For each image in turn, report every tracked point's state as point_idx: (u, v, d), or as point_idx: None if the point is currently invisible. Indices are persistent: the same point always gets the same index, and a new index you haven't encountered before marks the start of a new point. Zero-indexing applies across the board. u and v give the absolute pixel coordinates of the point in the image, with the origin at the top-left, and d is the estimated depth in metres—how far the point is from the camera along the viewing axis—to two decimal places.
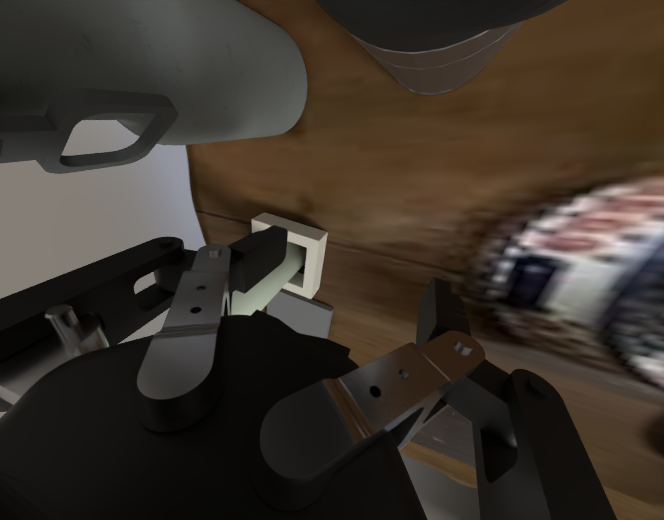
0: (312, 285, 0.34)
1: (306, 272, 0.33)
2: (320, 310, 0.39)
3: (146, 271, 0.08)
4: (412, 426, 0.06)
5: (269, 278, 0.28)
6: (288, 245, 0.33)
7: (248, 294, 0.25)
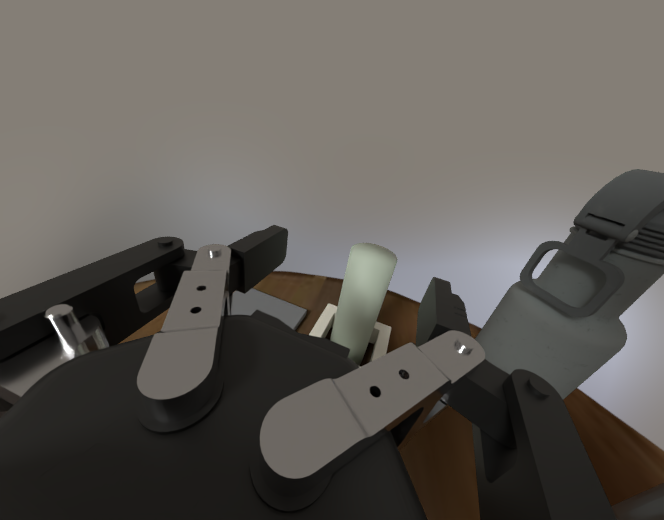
0: None
1: None
2: None
3: (146, 271, 0.08)
4: (412, 426, 0.06)
5: (369, 318, 0.27)
6: (365, 350, 0.31)
7: (381, 293, 0.25)
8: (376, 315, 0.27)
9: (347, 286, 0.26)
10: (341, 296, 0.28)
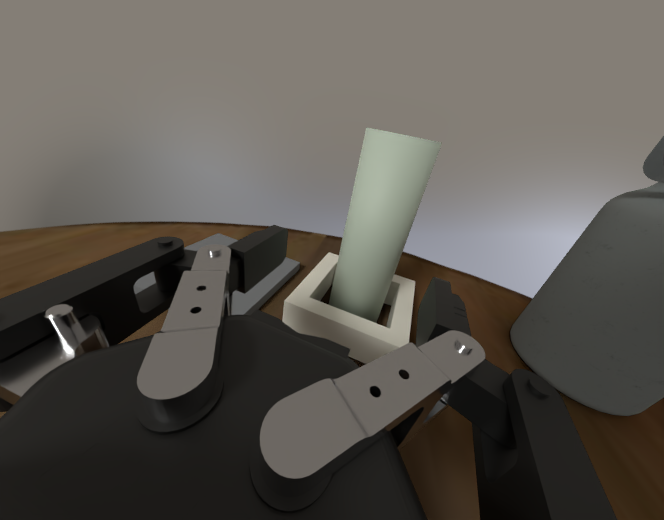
0: (315, 312, 0.19)
1: (341, 312, 0.19)
2: (237, 311, 0.20)
3: (146, 271, 0.08)
4: (412, 426, 0.06)
5: (393, 245, 0.17)
6: (381, 307, 0.22)
7: (414, 198, 0.16)
8: (402, 243, 0.18)
9: (360, 189, 0.16)
10: (349, 214, 0.18)
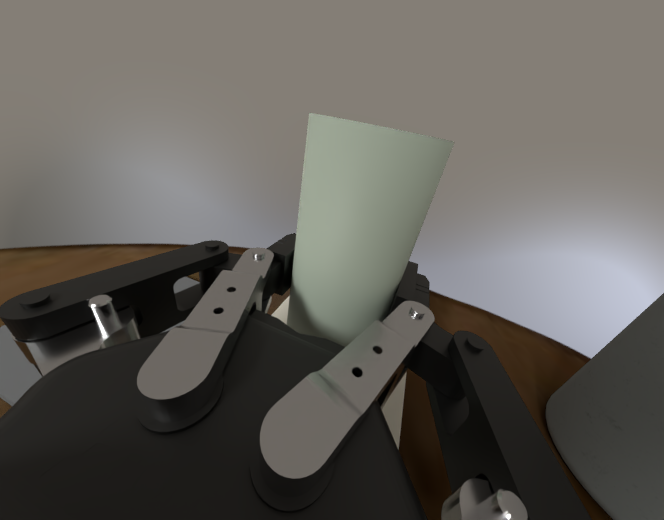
0: None
1: None
2: None
3: (187, 272, 0.09)
4: (387, 393, 0.07)
5: (366, 323, 0.10)
6: None
7: (401, 247, 0.08)
8: (384, 314, 0.10)
9: (303, 228, 0.09)
10: (293, 264, 0.11)
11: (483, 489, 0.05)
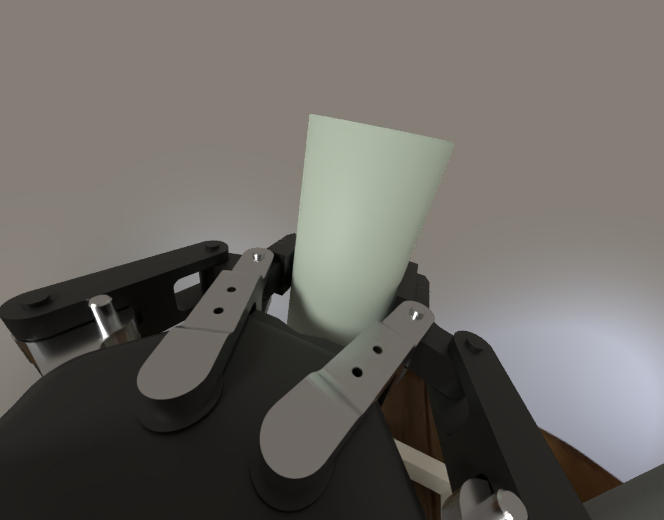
0: None
1: None
2: None
3: (187, 272, 0.09)
4: (387, 393, 0.07)
5: (367, 324, 0.10)
6: None
7: (401, 248, 0.08)
8: (384, 315, 0.10)
9: (303, 230, 0.09)
10: (293, 265, 0.11)
11: (483, 489, 0.05)
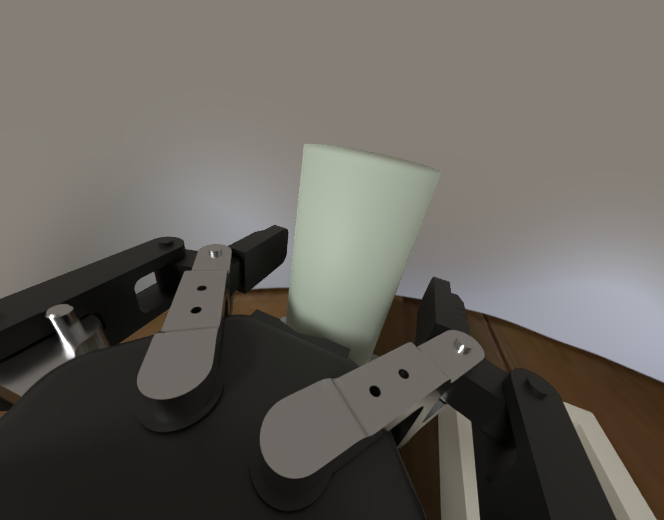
0: None
1: None
2: None
3: (147, 271, 0.08)
4: (412, 426, 0.06)
5: (360, 340, 0.10)
6: None
7: (392, 271, 0.09)
8: (377, 331, 0.11)
9: (299, 252, 0.09)
10: (290, 283, 0.11)
11: None
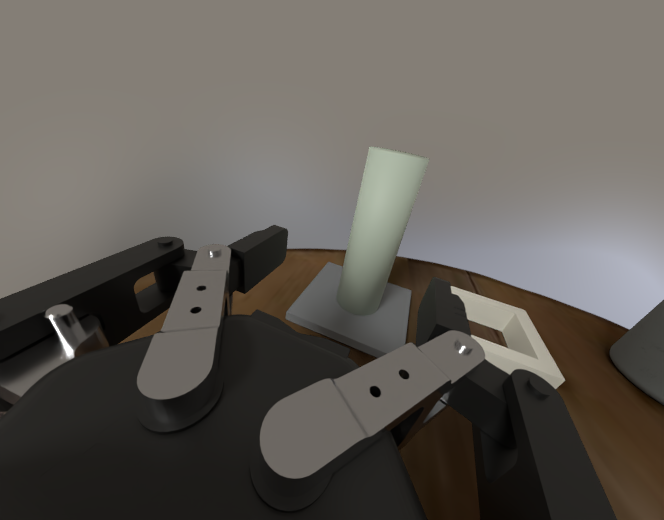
0: None
1: (493, 344, 0.22)
2: (398, 343, 0.23)
3: (146, 271, 0.08)
4: (412, 426, 0.06)
5: (391, 241, 0.21)
6: (382, 293, 0.26)
7: (407, 203, 0.20)
8: (399, 239, 0.22)
9: (365, 196, 0.20)
10: (355, 216, 0.22)
11: None
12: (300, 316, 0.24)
